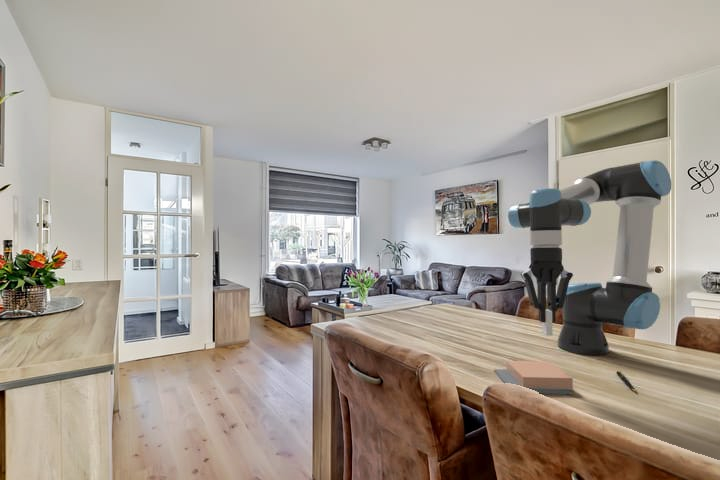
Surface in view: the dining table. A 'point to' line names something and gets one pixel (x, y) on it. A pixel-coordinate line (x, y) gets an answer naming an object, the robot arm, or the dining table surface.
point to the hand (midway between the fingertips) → (547, 334)
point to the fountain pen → (625, 380)
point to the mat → (509, 379)
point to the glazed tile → (539, 375)
